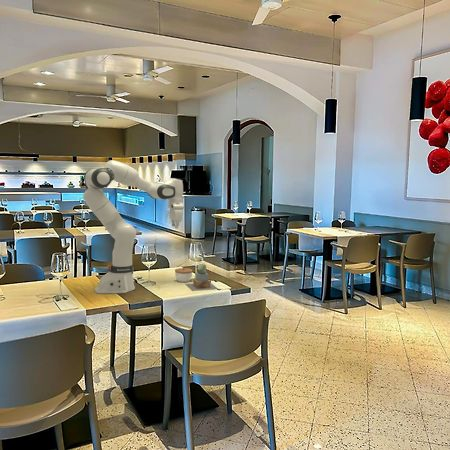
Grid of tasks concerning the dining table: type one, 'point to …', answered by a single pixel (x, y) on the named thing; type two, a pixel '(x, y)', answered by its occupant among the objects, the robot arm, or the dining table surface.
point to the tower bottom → (201, 284)
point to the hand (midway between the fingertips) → (175, 227)
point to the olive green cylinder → (201, 269)
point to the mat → (201, 288)
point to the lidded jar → (183, 274)
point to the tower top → (201, 277)
